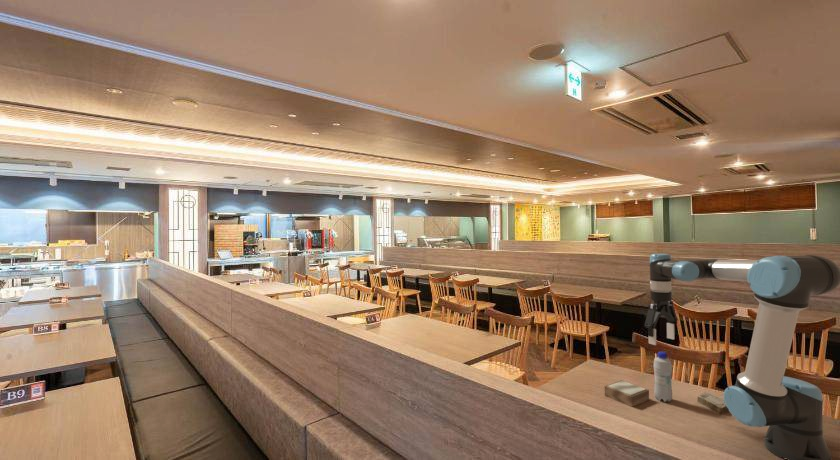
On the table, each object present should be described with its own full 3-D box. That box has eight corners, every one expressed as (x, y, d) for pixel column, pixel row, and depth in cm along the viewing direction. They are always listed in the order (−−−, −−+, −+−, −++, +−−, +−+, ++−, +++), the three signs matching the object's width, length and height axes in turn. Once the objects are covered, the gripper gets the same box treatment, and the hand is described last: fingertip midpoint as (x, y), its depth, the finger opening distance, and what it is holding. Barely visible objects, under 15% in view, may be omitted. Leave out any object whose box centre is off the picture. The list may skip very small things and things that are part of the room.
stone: (689, 398, 159) (689, 391, 159) (708, 397, 160) (707, 389, 160) (720, 415, 145) (720, 407, 144) (740, 414, 145) (740, 406, 145)
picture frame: (649, 399, 158) (648, 389, 158) (631, 406, 152) (631, 396, 152) (621, 389, 169) (621, 379, 169) (604, 395, 163) (604, 385, 163)
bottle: (650, 398, 160) (649, 350, 159) (660, 394, 162) (659, 348, 162) (666, 404, 154) (665, 355, 153) (676, 401, 156) (675, 352, 156)
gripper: (667, 286, 167) (668, 334, 167) (634, 292, 155) (635, 344, 155) (686, 288, 160) (687, 338, 161) (652, 295, 148) (653, 349, 149)
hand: (661, 341), depth 158 cm, fingers open, 13 cm apart
